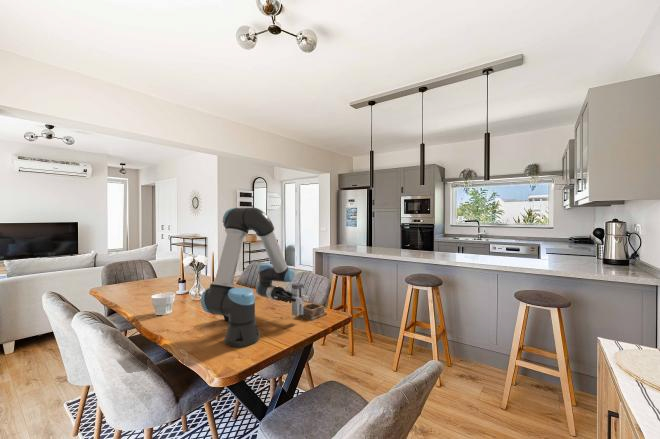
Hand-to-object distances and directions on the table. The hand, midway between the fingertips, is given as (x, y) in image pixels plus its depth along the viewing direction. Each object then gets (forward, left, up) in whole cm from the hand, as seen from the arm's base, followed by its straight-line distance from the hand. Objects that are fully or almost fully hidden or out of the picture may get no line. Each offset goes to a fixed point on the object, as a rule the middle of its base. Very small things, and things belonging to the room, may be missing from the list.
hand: (304, 300), depth 153 cm
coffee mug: (-21, +39, -13) cm, 47 cm away
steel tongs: (0, +5, -9) cm, 10 cm away
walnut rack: (+13, +7, -13) cm, 20 cm away
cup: (-40, +78, -13) cm, 89 cm away
